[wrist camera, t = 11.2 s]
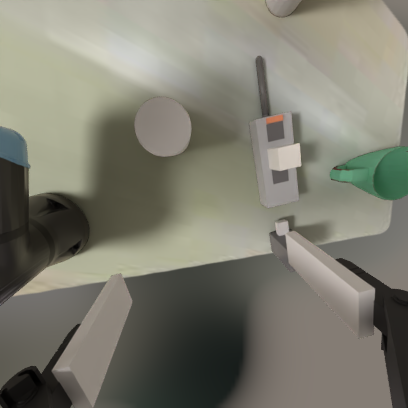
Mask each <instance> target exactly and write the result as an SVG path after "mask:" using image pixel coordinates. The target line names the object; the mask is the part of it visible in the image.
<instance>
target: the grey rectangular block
mask: <svg viewBox="0 0 408 408" xmlns="http://www.w3.org/2000/svg"><path fill="white" fill-rule="evenodd" d="M275 225H276V231H275V232H271V233H269V235H270V242H271V249H272V252H273V253H274V254H275V255H276V256H277V257H278V258H279V260H280V261H281V262H282V263H283V264H284V265H285V267H286V268H287V269H288V270H289V271H290V272H293V271H296V270H295V269H294V268H293V267H292V266H291V265H290V264H289V262H288V253H287V244H286V236H285V233H287V232H291V231H292V230H291V229H289V227H288V221H287V220H286V219H283V220H279V221H275Z"/></svg>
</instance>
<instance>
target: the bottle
mask: <svg viewBox="0 0 408 408" xmlns="http://www.w3.org/2000/svg"><path fill="white" fill-rule="evenodd" d="M301 1H302V0H265V2H266V5H267V7H268V9H269V11H270V12H271V13H272V14H273V15H275V16H277V17H286V16H288V15H290V14H291V13H292V12H293V11H294V10H295V9H296V7H297V6H298V5H299V3H300V2H301Z"/></svg>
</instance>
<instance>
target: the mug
mask: <svg viewBox="0 0 408 408" xmlns="http://www.w3.org/2000/svg"><path fill="white" fill-rule="evenodd" d="M330 178H331V180H335V181H338V182H350V183H352V184H353V185H355V186H356V187H358V188H360V189H362V190H364V191H366V192H368V193H370V194H372V195H374V196H376V197H378V198H381V199H384V200H396V199H400V198H402V197H404V196H406V195H407V194H408V147H405V146H400V147H394V148H389V149H384V150H380V151H376V152H372V153H368V154H365V155H362V156H359V157H357V158H354V159H352V160H350V161H348V162H347V163H346V164H345V165H344V166H337V167H334V168H333V169H332V170H331V172H330Z"/></svg>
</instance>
